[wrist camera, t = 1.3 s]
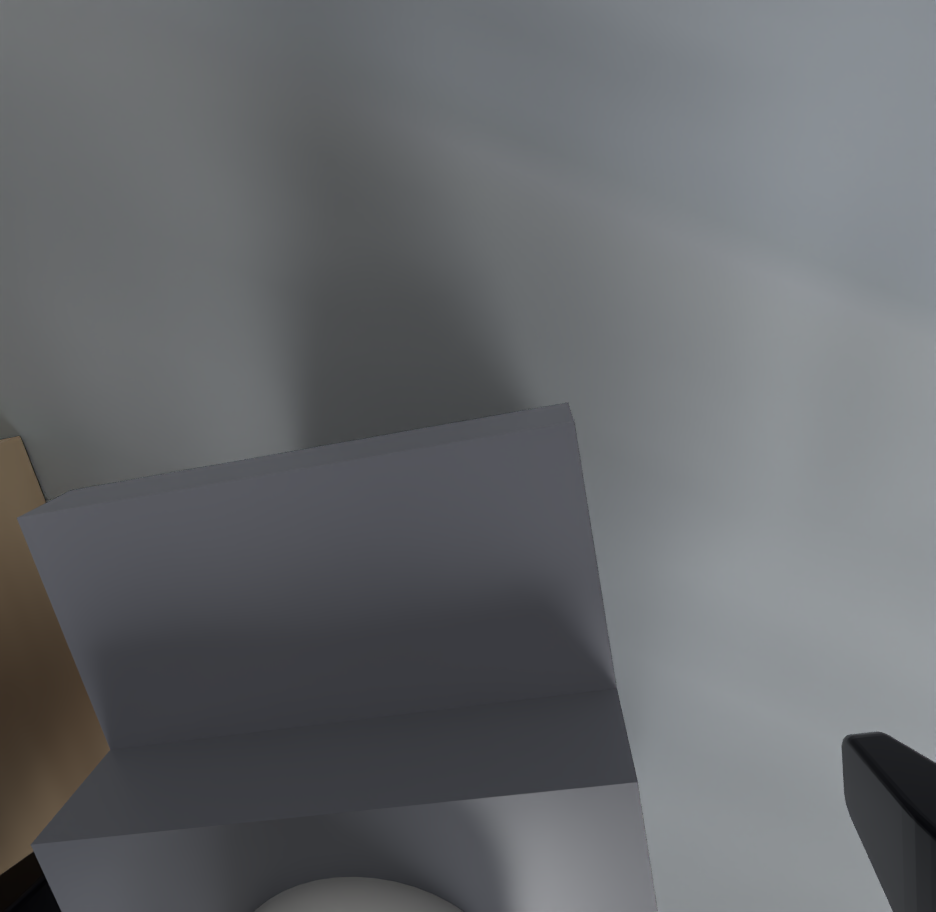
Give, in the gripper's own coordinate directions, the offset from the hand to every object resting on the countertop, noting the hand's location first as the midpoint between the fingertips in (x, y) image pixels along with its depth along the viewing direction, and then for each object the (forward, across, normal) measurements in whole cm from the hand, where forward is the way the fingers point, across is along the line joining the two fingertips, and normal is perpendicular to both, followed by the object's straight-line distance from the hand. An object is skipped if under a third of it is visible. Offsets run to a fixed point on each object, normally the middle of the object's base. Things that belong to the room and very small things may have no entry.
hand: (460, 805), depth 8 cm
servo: (+3, 0, 0) cm, 3 cm away
